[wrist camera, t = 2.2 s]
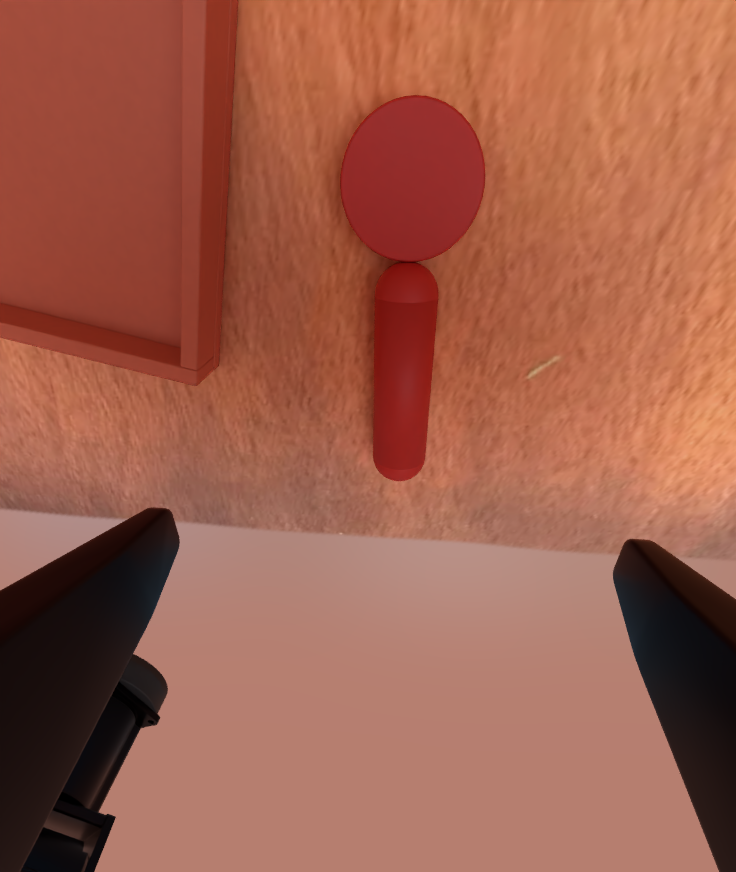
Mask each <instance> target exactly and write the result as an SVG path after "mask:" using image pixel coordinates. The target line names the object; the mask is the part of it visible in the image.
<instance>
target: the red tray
mask: <svg viewBox="0 0 736 872" xmlns="http://www.w3.org/2000/svg"><path fill="white" fill-rule="evenodd" d="M237 8H238V0H0V338H4V339H8V340H12V341H16V342H20V343H24V344H28V345H32V346H36V347H40V348H45V349H49V350H53V351H57V352H61V353H65V354H69V355H73V356H77V357H81V358H85V359H89V360H93V361H97V362H101V363H105V364H109V365H113V366H117V367H121V368H125V369H129V370H133V371H137V372H141V373H145V374H149V375H153V376H157V377H161V378H165V379H169V380H173V381H178V382H182V383H186V384H190V385H194V386H197V385H198V384H199V383H200V382H201V381H202V380H203V379H205V378H206V377H207V376H208V375H209V374H210V373H211V372H212V371H213V370H215V369H216V368H217V367H218V366H219V351H220V332H221V313H222V294H223V275H224V256H225V237H226V218H227V199H228V180H229V161H230V142H231V123H232V104H233V84H234V65H235V46H236V27H237Z"/></svg>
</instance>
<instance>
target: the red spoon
mask: <svg viewBox="0 0 736 872" xmlns="http://www.w3.org/2000/svg"><path fill="white" fill-rule="evenodd" d="M484 186H485V163H484V157H483V152H482V149H481V146H480V142H479V140H478V138H477V136H476V134H475V132H474V130H473V128H472V127H471V125H470V124H469V122H468V121H467V120H466V119H465V118H464V116H463V115H462V114H461V113H459V112H458V111H457V110H456V109H455V108H454V107H452V106H450V105H449V104H447V103H446V102H443V101H441V100H439V99H436V98H432V97H428V96H419V95H413V96H404V97H400V98H396V99H394V100H391V101H389V102H387V103H385V104H383V105H381V106H380V107H378V108H377V109H375V110H374V111H373V112H372V113H371V114H369V115H368V116H367V117H366V118H365V120H364V121H363V122H362V123H361V124H360V125H359V127H358V128H357V130H356V131H355V132H354V134H353V136H352V138H351V140H350V142H349V144H348V146H347V149H346V152H345V155H344V159H343V162H342V168H341V176H340V189H341V198H342V203H343V207H344V211H345V214H346V217H347V219H348V221H349V223H350V225H351V227H352V228H353V230H354V232H355V233H356V235H357V236H358V237H359V238H360V240H361V241H362V242H363V243H364V244H365V245H366V246H367V247H369V248H370V249H371V250H373V251H374V252H376V253H377V254H379V255H381V256H383V257H386V258H388V259H391V260H395V261H399V263H396V264H394V265H392V266H390V267H389V268H388V269H386V270H385V271H384V273H383V274H382V275H381V276H380V278H379V280H378V282H377V285H376V288H375V320H374V418H373V459H374V463H375V466H376V468H377V469H378V471H379V472H380V473H381V474H382V475H383V476H384V477H386V478H388V479H390V480H394V481H405V480H408V479H411V478H412V477H414V476H415V475H417V474H418V473H419V471H420V470H421V468H422V466H423V464H424V460H425V452H426V440H427V428H428V416H429V404H430V392H431V379H432V367H433V355H434V343H435V331H436V319H437V307H438V286H437V282H436V280H435V278H434V276H433V275H432V273H431V272H430V271H429V270H428V269H427V268H426V267H424V266H423V265H421V264H419V263H416V262H418V261H423V260H427V259H430V258H433V257H435V256H438V255H440V254H442V253H443V252H445V251H446V250H448V249H449V248H451V247H452V246H453V245H454V244H455V243H457V242H458V241H459V240H460V238H461V237H462V236H463V235H464V234H465V233H466V231H467V230H468V229H469V227H470V226H471V224H472V222H473V220H474V219H475V217H476V214H477V212H478V210H479V207H480V204H481V201H482V197H483V192H484Z"/></svg>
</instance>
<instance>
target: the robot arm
mask: <svg viewBox="0 0 736 872" xmlns="http://www.w3.org/2000/svg"><path fill="white" fill-rule="evenodd" d="M179 543H180V542H179V535H178V532H177V528H176V525H175V521H174V518H173V514H172V512H171V511H170V510H169V509H166V508H147V509H145V510H144V511H142V512H140V513H138V514H136V515H135V516H133V517H131V518H129V519H127V520H126V521H124V522H122V523H120V524H119V525H117V526H115V527H113V528H111V529H110V530H108V531H106V532H104V533H102V534H101V535H99V536H97V537H95V538H94V539H92V540H90V541H88V542H86V543H85V544H83V545H81V546H79V547H77V548H76V549H74V550H72V551H70V552H69V553H67V554H65V555H63V556H62V557H60V558H58V559H56V560H54V561H53V562H51V563H49V564H47V565H45V566H44V567H42V568H40V569H38V570H36V571H35V572H33V573H31V574H29V575H27V576H26V577H24V578H22V579H20V580H19V581H17V582H15V583H13V584H11V585H10V586H8V587H6V588H4V589H2V590H1V591H0V872H94V871H95V868H96V865H97V863H98V860H99V858H100V855H101V853H102V851H103V848H104V846H105V843H106V841H107V838H108V836H109V833H110V830H111V828H112V825H113V823H114V820H115V818H116V817H115V816H112V815H109V814H107V815H104V814H101V813H99V810H100V808H101V806H102V804H103V802H104V800H105V798H106V796H107V794H108V792H109V790H110V788H111V786H112V784H113V782H114V780H115V778H116V776H117V774H118V772H119V770H120V768H121V766H122V764H123V762H124V760H125V758H126V756H127V754H128V752H129V750H130V748H131V746H132V744H133V742H134V740H135V738H136V736H137V734H138V732H139V730H140V729H141V728H143V727H149V726H155V725H157V724H158V722H159V720H160V716H159V715H158V714H157V713H156V712H154V711H153V710H152V709H151V708H150V707H149V706H147V705H146V704H145V703H144V702H143V701H141V700H140V699H139V698H138V697H137V696H136V695H134V694H133V693H132V692H131V691H130V690H128V689H127V688H126V687H125V686H124V685H123V684H121V683H120V682H119V680H120V678H121V676H122V674H123V672H124V670H125V668H126V666H127V664H128V662H129V660H130V658H131V656H132V654H133V653H134V651H135V649H136V647H137V645H138V643H139V641H140V639H141V637H142V635H143V633H144V631H145V629H146V627H147V625H148V623H149V621H150V619H151V617H152V614H153V612H154V610H155V608H156V605H157V602H158V600H159V598H160V595H161V592H162V590H163V587H164V585H165V582H166V580H167V577H168V575H169V572H170V570H171V567H172V564H173V562H174V559H175V557H176V554H177V552H178V549H179ZM613 580H614V584H615V588H616V592H617V595H618V599H619V603H620V606H621V610H622V613H623V617H624V621H625V624H626V628H627V631H628V635H629V639H630V642H631V646H632V649H633V652H634V656H635V659H636V662H637V664H638V667H639V670H640V672H641V675H642V677H643V680H644V683H645V685H646V688H647V690H648V693H649V695H650V698H651V700H652V703H653V705H654V708H655V710H656V713H657V716H658V718H659V720H660V723H661V726H662V728H663V731H664V733H665V736H666V738H667V741H668V743H669V746H670V748H671V751H672V753H673V756H674V759H675V761H676V763H677V766H678V769H679V771H680V774H681V776H682V779H683V781H684V784H685V786H686V789H687V791H688V794H689V796H690V799H691V802H692V804H693V807H694V809H695V812H696V814H697V816H698V819H699V822H700V824H701V827H702V829H703V832H704V834H705V837H706V839H707V842H708V844H709V847H710V849H711V852H712V855H713V857H714V860H715V862H716V865H717V867H718V870H719V872H736V599H735V598H733V597H732V596H730V595H729V594H727V593H726V592H725V591H723V590H722V589H720V588H719V587H717V586H716V585H714V584H713V583H712V582H710V581H709V580H708V579H706V578H705V577H703V576H702V575H700V574H699V573H698V572H696V571H694V570H693V569H692V568H690V567H689V566H688V565H686V564H685V563H683V562H682V561H680V560H679V559H678V558H676V557H675V556H673V555H672V554H670V553H669V552H668V551H666V550H665V549H663V548H662V547H661V546H659V545H658V544H656V543H655V542H653V541H650V540H641V539H629V540H627V541H626V542H625V543H624V545H623V547H622V550H621V552H620V555H619V557H618V560H617V562H616V565H615V567H614V571H613Z"/></svg>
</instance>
